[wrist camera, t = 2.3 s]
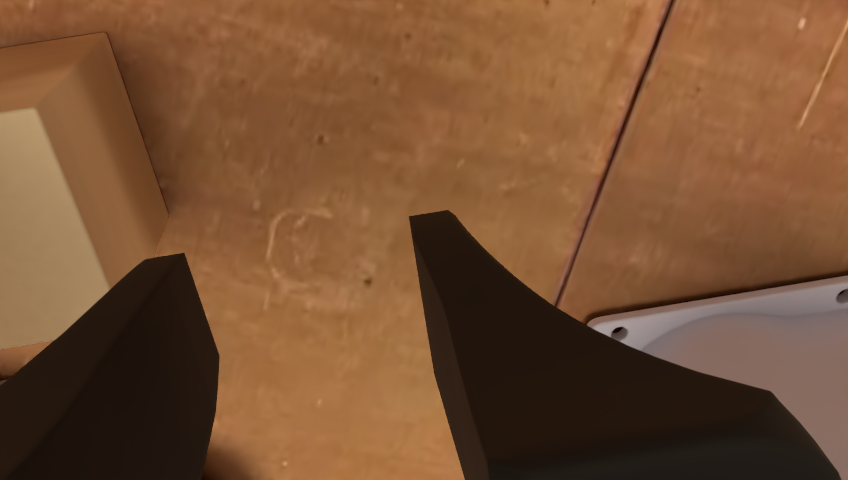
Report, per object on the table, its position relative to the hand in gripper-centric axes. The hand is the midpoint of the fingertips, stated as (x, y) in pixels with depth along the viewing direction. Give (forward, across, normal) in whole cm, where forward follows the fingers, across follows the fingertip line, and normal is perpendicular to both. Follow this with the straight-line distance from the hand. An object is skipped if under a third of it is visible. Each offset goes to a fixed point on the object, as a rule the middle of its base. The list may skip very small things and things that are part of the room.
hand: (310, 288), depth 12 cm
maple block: (+8, +7, 0) cm, 11 cm away
